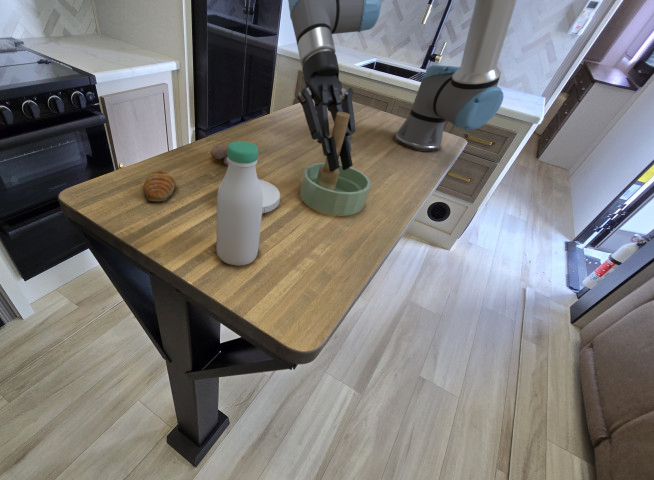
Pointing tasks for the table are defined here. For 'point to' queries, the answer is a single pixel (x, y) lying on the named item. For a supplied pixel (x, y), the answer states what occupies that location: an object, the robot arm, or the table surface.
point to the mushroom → (220, 152)
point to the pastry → (159, 185)
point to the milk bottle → (239, 206)
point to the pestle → (339, 130)
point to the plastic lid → (269, 196)
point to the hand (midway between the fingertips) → (341, 168)
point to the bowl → (335, 191)
